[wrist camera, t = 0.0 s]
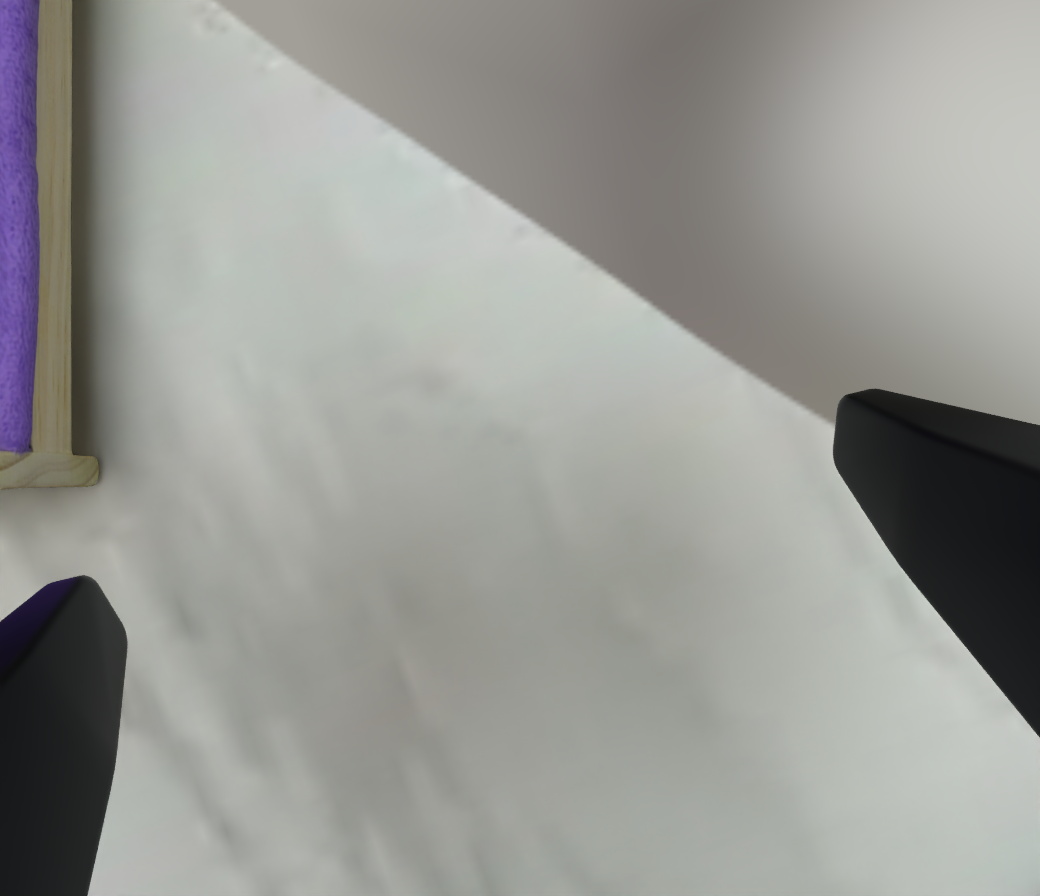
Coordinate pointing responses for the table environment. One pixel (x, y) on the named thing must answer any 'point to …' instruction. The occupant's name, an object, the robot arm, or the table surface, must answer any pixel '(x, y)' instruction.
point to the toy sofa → (36, 248)
